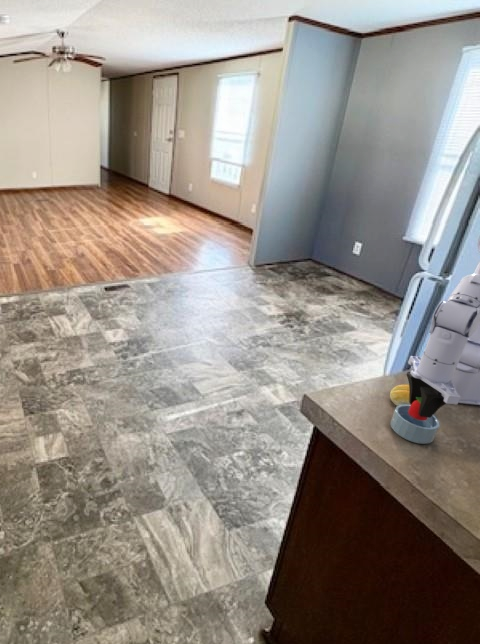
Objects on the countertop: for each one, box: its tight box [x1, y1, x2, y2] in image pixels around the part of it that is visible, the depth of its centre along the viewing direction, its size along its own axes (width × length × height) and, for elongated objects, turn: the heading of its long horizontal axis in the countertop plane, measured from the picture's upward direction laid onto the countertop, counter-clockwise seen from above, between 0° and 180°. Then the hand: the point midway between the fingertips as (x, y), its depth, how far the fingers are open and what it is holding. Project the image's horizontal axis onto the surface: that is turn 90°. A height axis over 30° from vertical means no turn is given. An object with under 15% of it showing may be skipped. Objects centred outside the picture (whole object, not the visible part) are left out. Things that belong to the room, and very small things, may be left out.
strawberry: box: [408, 397, 428, 420], centre depth 92 cm, size 3×3×4 cm
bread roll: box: [389, 383, 411, 407], centre depth 103 cm, size 8×9×4 cm
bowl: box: [389, 404, 441, 445], centre depth 93 cm, size 8×8×4 cm
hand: (419, 410), depth 92 cm, fingers closed on strawberry, 3 cm apart
